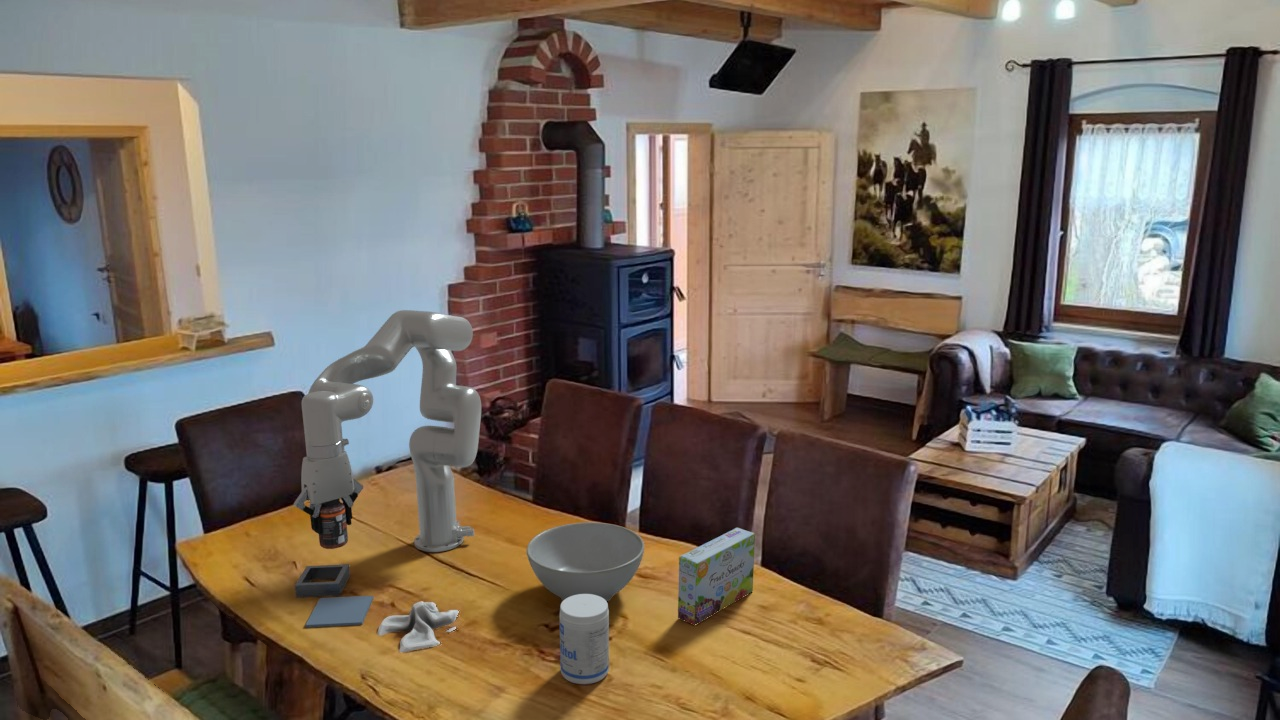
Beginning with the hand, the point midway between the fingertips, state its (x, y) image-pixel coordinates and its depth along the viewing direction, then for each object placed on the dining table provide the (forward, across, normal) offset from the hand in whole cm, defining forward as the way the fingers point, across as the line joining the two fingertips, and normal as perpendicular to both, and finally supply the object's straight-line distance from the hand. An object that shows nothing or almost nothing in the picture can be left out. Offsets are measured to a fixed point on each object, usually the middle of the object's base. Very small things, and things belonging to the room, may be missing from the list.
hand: (332, 527), depth 198 cm
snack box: (+21, -61, +58) cm, 87 cm away
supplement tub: (+21, -23, +57) cm, 65 cm away
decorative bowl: (+21, -44, +33) cm, 59 cm away
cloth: (+21, -11, +18) cm, 30 cm away
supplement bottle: (+4, 0, 0) cm, 4 cm away
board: (+20, 0, 0) cm, 20 cm away
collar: (+20, -3, -14) cm, 25 cm away
